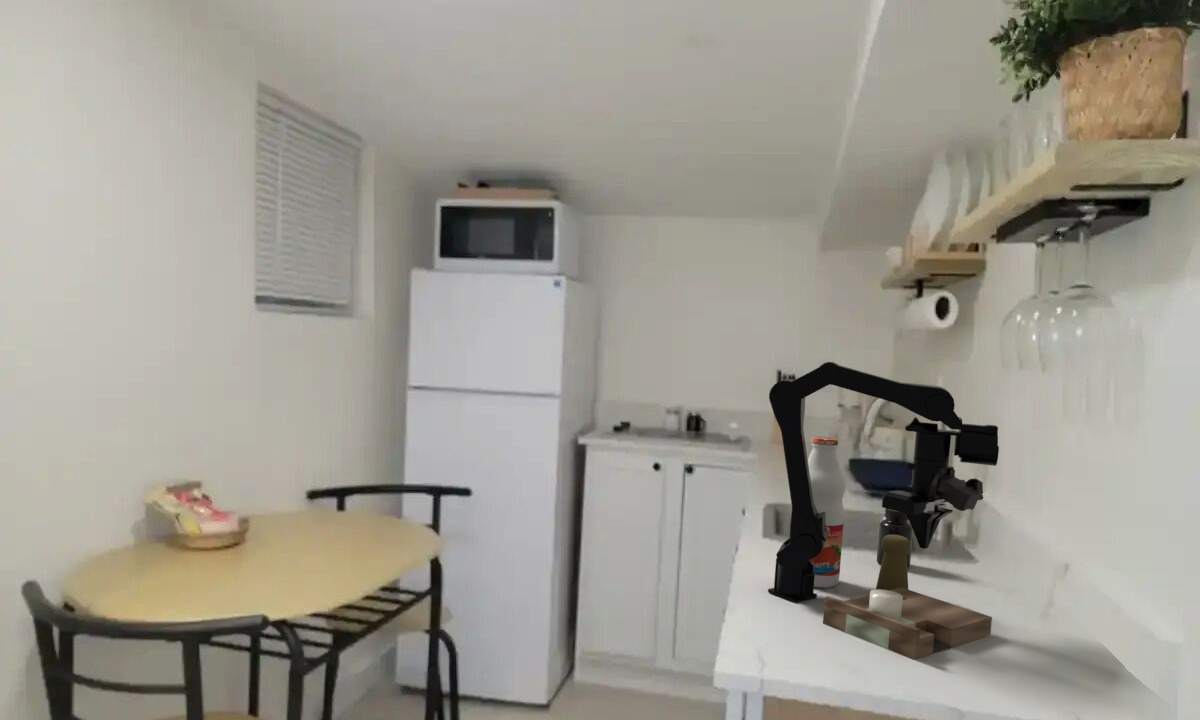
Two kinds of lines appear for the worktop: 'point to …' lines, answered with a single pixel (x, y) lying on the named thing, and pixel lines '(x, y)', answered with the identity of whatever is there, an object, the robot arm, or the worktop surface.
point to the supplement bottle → (894, 531)
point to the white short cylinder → (886, 603)
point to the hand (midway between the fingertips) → (923, 548)
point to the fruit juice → (827, 508)
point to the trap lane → (908, 623)
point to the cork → (894, 563)
